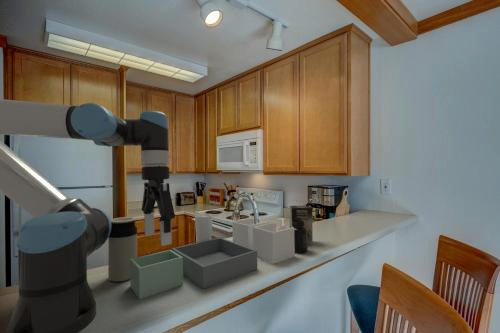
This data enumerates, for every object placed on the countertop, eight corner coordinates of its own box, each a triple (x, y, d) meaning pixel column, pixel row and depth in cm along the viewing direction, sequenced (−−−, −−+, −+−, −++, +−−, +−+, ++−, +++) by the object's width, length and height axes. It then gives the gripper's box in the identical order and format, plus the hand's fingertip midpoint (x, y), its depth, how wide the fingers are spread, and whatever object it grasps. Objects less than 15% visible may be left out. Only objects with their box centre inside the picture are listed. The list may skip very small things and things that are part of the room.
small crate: (139, 299, 63) (139, 268, 63) (130, 287, 70) (129, 259, 70) (183, 284, 71) (182, 257, 71) (171, 274, 78) (170, 249, 78)
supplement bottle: (303, 247, 102) (303, 218, 102) (310, 253, 95) (309, 222, 95) (287, 248, 101) (287, 219, 101) (293, 254, 94) (293, 223, 94)
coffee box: (291, 245, 105) (290, 207, 105) (289, 240, 111) (289, 205, 112) (313, 245, 105) (312, 207, 105) (310, 240, 111) (309, 205, 111)
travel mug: (141, 276, 77) (141, 219, 77) (113, 285, 71) (113, 222, 71) (131, 269, 82) (131, 215, 83) (105, 276, 77) (105, 219, 77)
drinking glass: (209, 256, 94) (208, 216, 94) (192, 255, 95) (192, 216, 95) (215, 250, 100) (214, 213, 101) (199, 249, 102) (199, 213, 102)
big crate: (203, 288, 68) (203, 267, 68) (172, 265, 85) (171, 248, 85) (257, 269, 81) (257, 250, 81) (220, 252, 98) (220, 237, 98)
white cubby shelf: (232, 247, 105) (232, 221, 105) (252, 242, 112) (252, 217, 112) (273, 264, 85) (272, 232, 85) (294, 256, 92) (294, 227, 92)
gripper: (186, 164, 64) (188, 246, 64) (154, 166, 83) (155, 229, 83) (157, 164, 59) (159, 253, 59) (130, 167, 78) (131, 233, 78)
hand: (157, 239), depth 71 cm, fingers open, 13 cm apart
